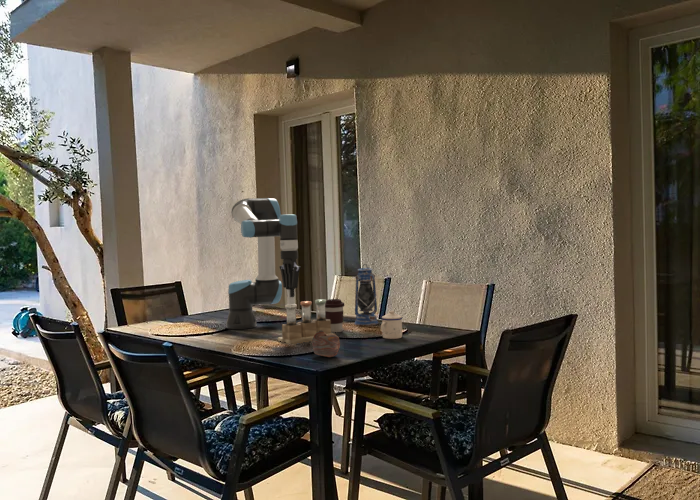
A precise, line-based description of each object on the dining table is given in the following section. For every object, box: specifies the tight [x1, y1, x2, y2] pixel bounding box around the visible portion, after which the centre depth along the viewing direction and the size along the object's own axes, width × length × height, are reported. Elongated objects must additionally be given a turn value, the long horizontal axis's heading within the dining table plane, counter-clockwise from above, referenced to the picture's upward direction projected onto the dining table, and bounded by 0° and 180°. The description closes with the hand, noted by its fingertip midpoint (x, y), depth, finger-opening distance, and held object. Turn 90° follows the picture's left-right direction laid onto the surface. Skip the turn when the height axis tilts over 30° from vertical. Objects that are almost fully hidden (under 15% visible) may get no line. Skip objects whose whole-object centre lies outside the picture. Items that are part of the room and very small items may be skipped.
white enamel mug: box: [380, 310, 403, 340], centre depth 265 cm, size 12×9×12 cm
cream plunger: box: [284, 303, 298, 326], centre depth 262 cm, size 5×5×10 cm
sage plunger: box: [314, 298, 327, 321], centre depth 272 cm, size 5×5×10 cm
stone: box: [311, 330, 341, 358], centre depth 231 cm, size 13×8×10 cm
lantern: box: [353, 263, 380, 326], centre depth 304 cm, size 15×12×30 cm
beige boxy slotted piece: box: [277, 318, 337, 345], centre depth 267 cm, size 12×23×8 cm, turn 129°
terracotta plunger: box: [300, 300, 313, 323], centre depth 267 cm, size 5×5×10 cm
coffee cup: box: [325, 298, 345, 334], centre depth 284 cm, size 10×10×15 cm
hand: (291, 304), depth 262 cm, fingers closed
